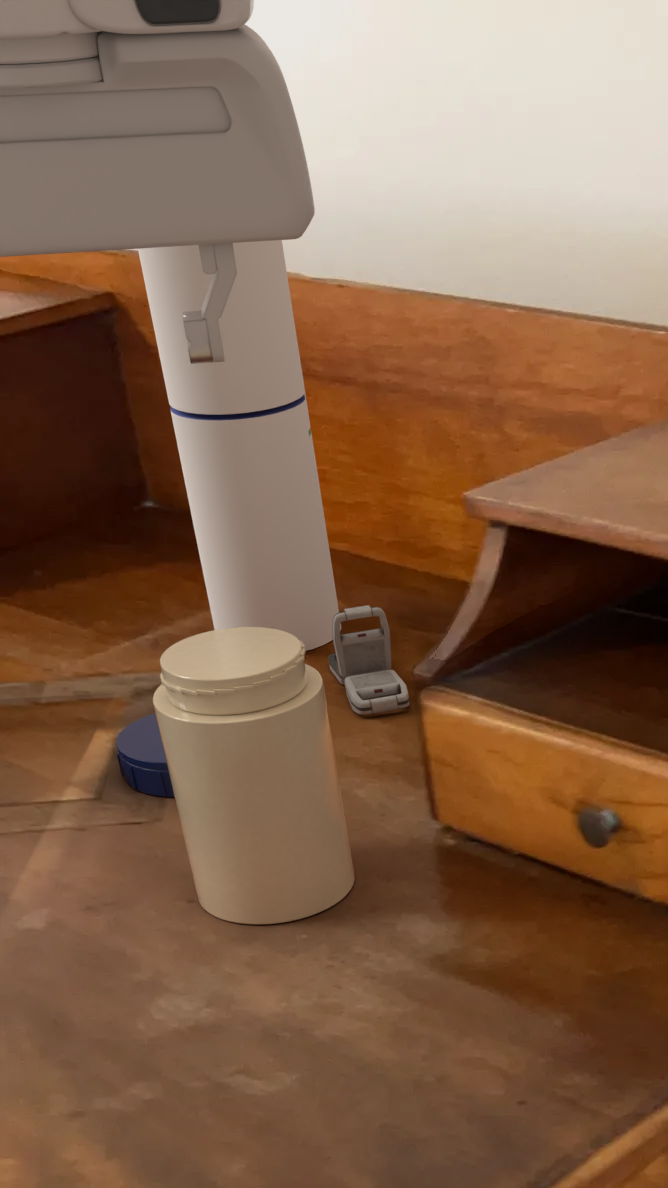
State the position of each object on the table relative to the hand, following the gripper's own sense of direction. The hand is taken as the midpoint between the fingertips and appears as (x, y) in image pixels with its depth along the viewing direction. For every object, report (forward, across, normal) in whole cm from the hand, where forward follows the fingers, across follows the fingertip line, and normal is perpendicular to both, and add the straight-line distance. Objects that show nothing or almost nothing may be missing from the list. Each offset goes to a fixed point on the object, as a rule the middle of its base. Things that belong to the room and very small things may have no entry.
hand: (95, 368), depth 73 cm
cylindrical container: (+19, +6, +17) cm, 26 cm away
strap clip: (+18, +10, +8) cm, 22 cm away
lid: (+17, +1, 0) cm, 17 cm away
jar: (+18, +4, -14) cm, 23 cm away
